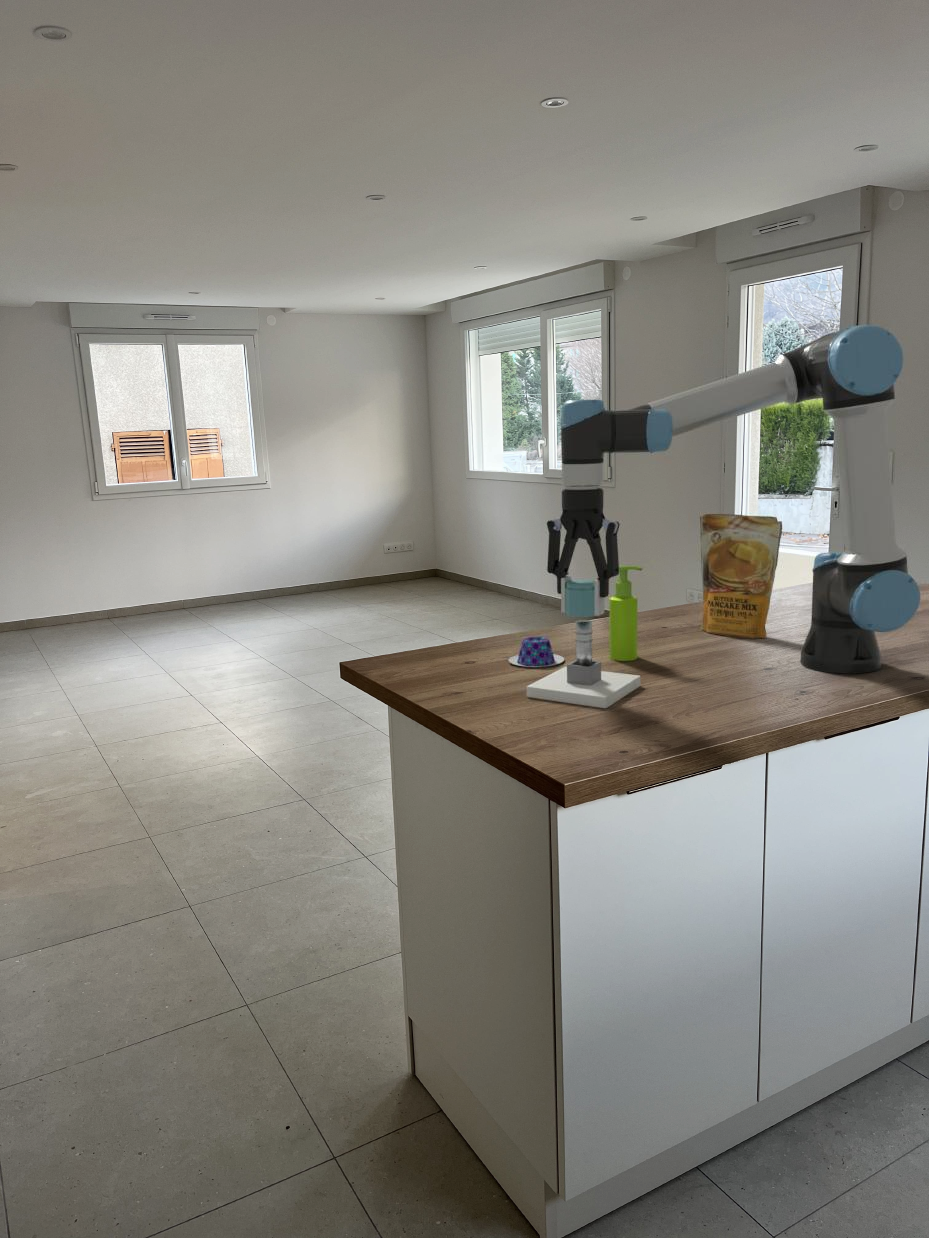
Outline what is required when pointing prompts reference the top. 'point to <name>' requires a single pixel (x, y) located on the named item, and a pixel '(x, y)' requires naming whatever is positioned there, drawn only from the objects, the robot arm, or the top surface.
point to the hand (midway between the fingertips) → (582, 612)
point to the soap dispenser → (623, 618)
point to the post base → (584, 685)
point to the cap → (579, 598)
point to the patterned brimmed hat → (536, 653)
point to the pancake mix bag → (738, 572)
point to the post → (583, 642)
